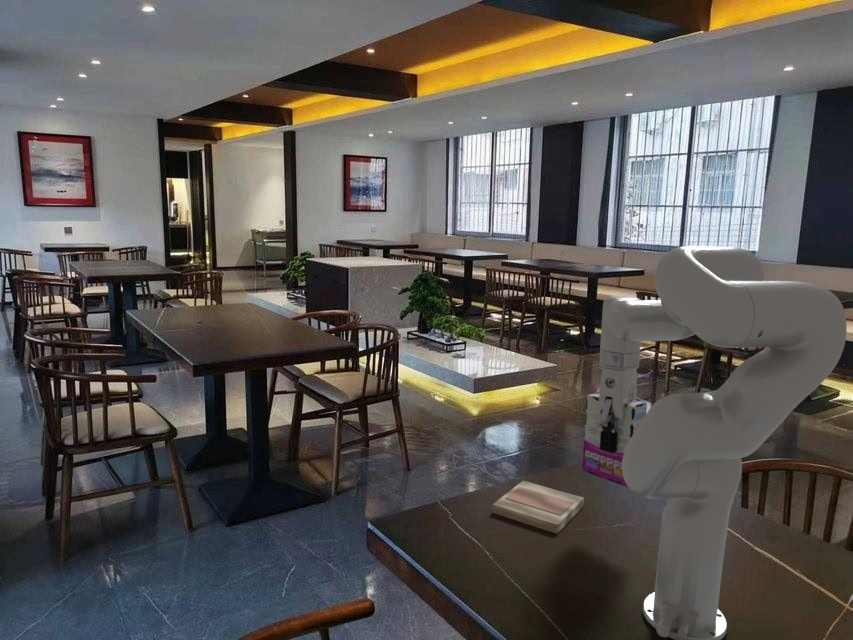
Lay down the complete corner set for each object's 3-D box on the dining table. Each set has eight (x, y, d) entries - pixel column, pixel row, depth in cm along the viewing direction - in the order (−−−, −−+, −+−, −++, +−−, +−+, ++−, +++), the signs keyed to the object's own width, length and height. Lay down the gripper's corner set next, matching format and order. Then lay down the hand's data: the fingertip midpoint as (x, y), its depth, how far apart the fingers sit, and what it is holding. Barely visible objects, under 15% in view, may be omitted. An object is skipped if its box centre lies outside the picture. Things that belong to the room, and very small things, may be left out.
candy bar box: (642, 482, 125) (648, 402, 123) (628, 488, 122) (634, 407, 119) (595, 465, 133) (599, 390, 131) (580, 470, 130) (585, 394, 128)
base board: (557, 533, 129) (557, 523, 128) (492, 512, 137) (492, 503, 136) (583, 506, 141) (584, 497, 140) (522, 488, 149) (523, 479, 149)
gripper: (625, 369, 115) (618, 463, 118) (650, 354, 129) (644, 438, 132) (585, 363, 119) (580, 454, 122) (614, 349, 133) (608, 431, 136)
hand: (613, 445), depth 127 cm, fingers closed on candy bar box, 5 cm apart
